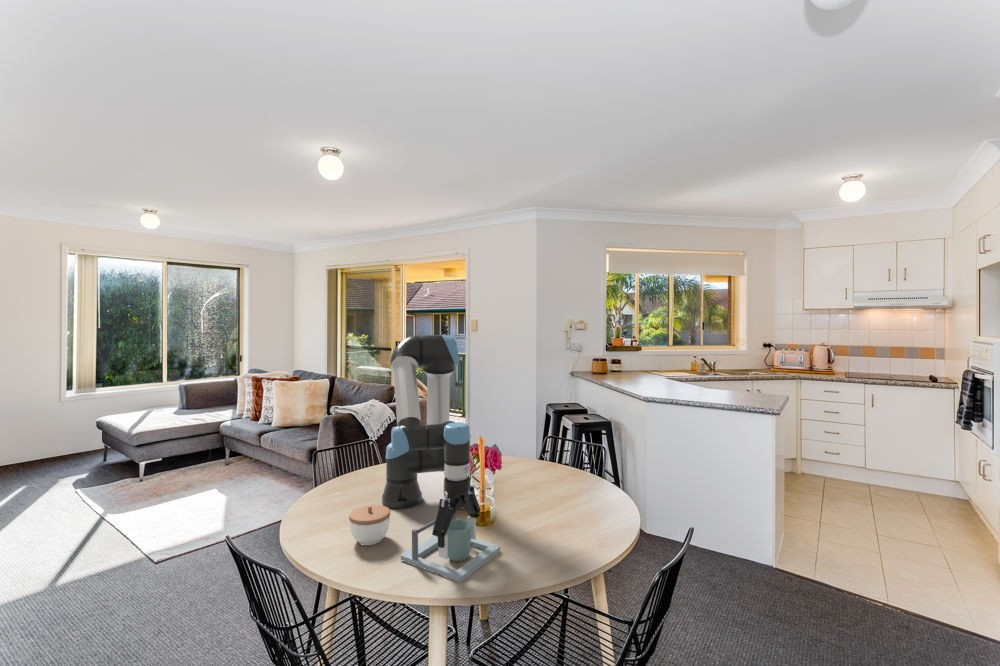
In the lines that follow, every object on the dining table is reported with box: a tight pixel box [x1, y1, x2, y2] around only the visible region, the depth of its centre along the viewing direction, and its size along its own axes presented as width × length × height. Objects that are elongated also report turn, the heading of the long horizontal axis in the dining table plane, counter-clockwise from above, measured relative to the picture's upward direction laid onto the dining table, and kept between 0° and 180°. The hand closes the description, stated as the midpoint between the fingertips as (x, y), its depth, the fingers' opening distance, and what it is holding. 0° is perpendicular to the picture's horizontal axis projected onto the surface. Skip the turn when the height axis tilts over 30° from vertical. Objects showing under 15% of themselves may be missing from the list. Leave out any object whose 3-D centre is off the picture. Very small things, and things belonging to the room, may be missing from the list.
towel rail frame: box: [399, 511, 501, 583], centre depth 144 cm, size 22×20×10 cm
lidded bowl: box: [348, 504, 391, 546], centre depth 154 cm, size 13×13×11 cm
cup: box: [446, 518, 472, 562], centre depth 143 cm, size 8×8×10 cm
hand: (457, 547), depth 143 cm, fingers open, 13 cm apart
